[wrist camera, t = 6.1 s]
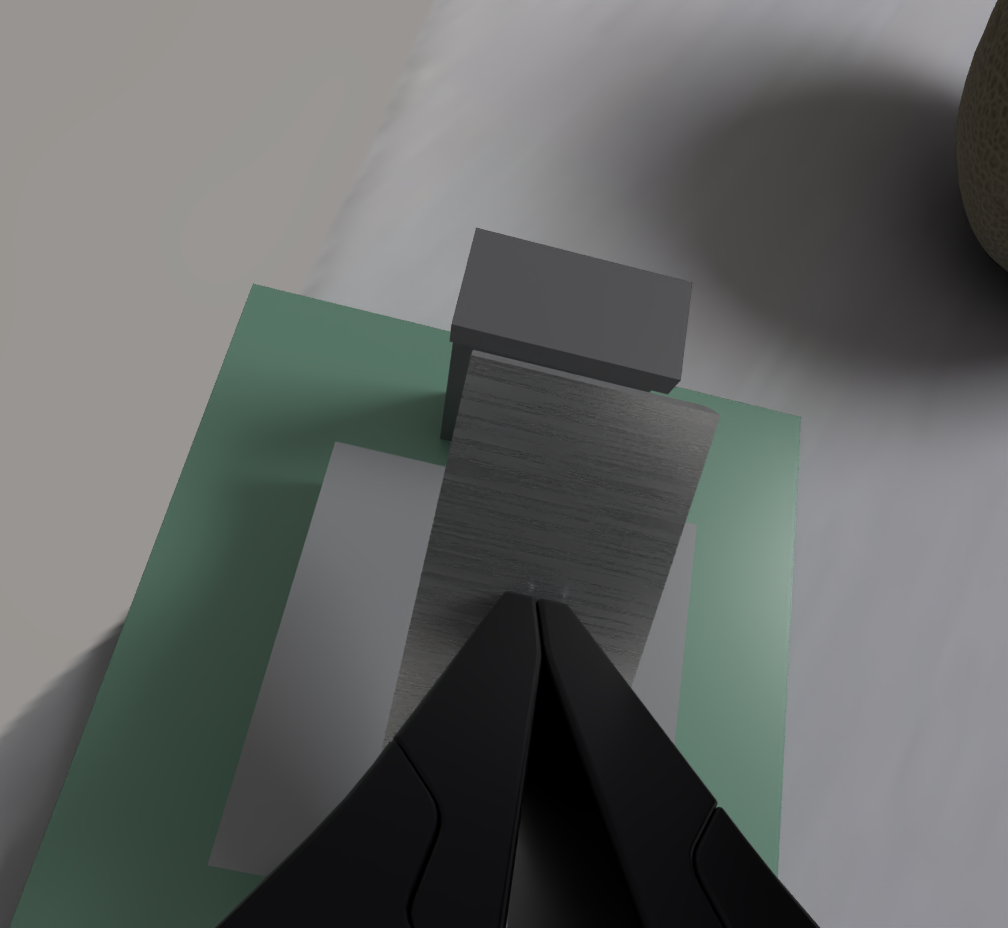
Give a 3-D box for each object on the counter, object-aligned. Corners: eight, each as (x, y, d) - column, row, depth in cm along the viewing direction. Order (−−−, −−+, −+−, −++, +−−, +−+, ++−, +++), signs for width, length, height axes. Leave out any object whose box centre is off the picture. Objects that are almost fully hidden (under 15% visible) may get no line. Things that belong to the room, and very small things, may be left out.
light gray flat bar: (516, 1035, 11) (720, 415, 8) (324, 1002, 10) (470, 354, 8) (516, 996, 11) (706, 405, 9) (333, 963, 11) (473, 349, 8)
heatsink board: (741, 1190, 15) (1080, 1688, 7) (-26, 1062, 14) (-529, 1492, 6) (786, 427, 21) (994, 280, 13) (258, 299, 20) (171, 64, 12)
